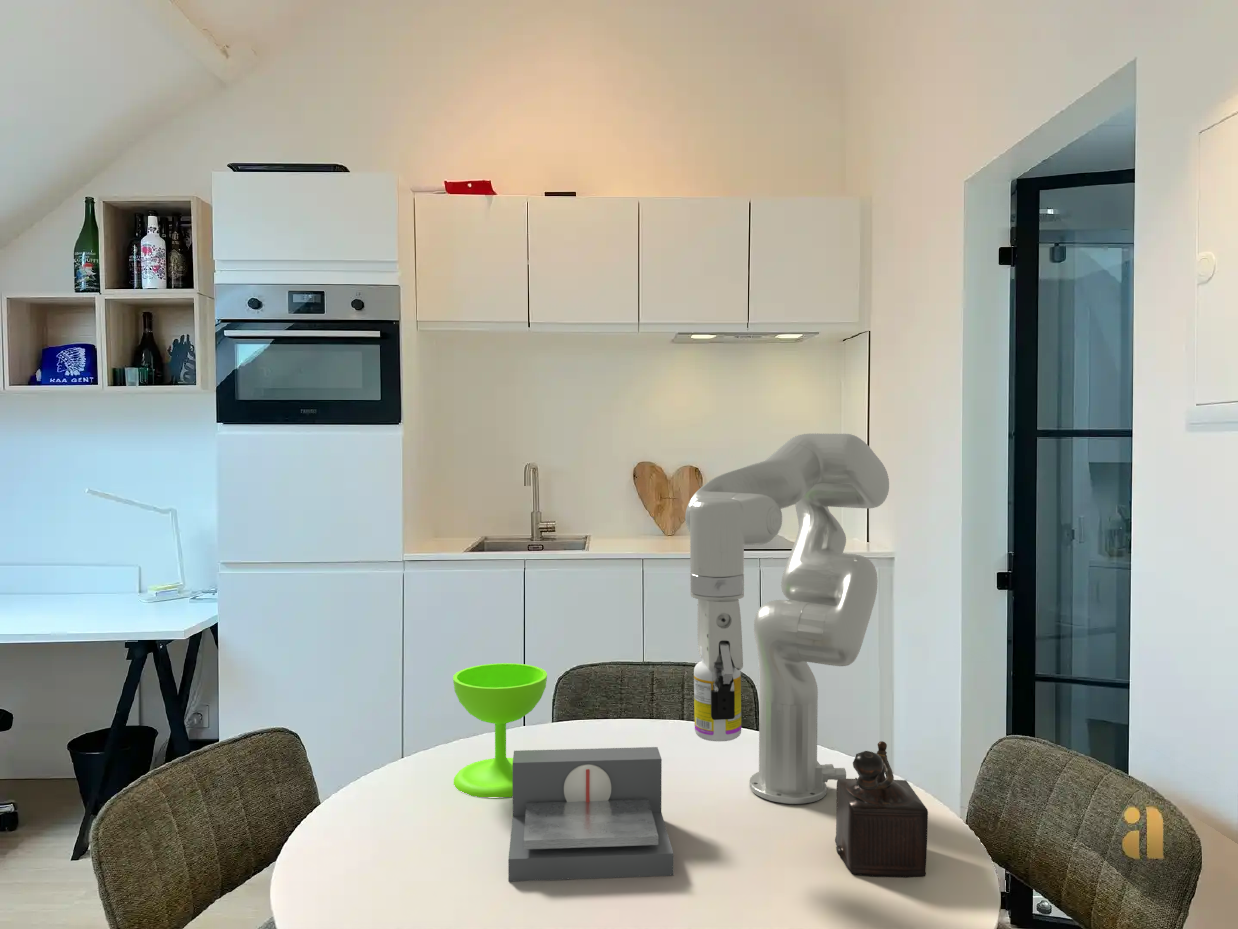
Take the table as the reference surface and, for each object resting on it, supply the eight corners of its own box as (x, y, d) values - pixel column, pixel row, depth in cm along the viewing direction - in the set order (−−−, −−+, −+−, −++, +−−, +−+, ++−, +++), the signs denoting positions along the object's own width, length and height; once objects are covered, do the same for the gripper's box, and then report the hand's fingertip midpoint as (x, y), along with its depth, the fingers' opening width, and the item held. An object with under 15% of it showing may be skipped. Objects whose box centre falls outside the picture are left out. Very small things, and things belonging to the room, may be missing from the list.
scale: (657, 817, 136) (657, 747, 136) (673, 875, 118) (673, 794, 118) (514, 822, 135) (513, 750, 134) (508, 881, 117) (508, 799, 116)
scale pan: (648, 807, 130) (648, 799, 130) (658, 844, 118) (658, 836, 118) (526, 811, 129) (526, 803, 129) (523, 849, 117) (523, 840, 117)
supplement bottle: (740, 727, 129) (740, 640, 128) (742, 744, 122) (742, 652, 121) (694, 726, 129) (694, 639, 129) (693, 742, 123) (693, 651, 122)
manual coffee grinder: (829, 840, 129) (830, 718, 128) (906, 842, 128) (907, 719, 128) (854, 896, 113) (855, 757, 113) (941, 898, 113) (943, 759, 112)
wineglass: (475, 806, 140) (475, 694, 140) (439, 773, 154) (438, 671, 153) (563, 785, 149) (563, 679, 148) (522, 756, 162) (522, 659, 162)
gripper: (757, 597, 116) (757, 730, 117) (730, 574, 134) (731, 690, 134) (701, 598, 116) (702, 732, 117) (681, 575, 133) (682, 692, 134)
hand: (717, 709), depth 126 cm, fingers closed on supplement bottle, 6 cm apart
